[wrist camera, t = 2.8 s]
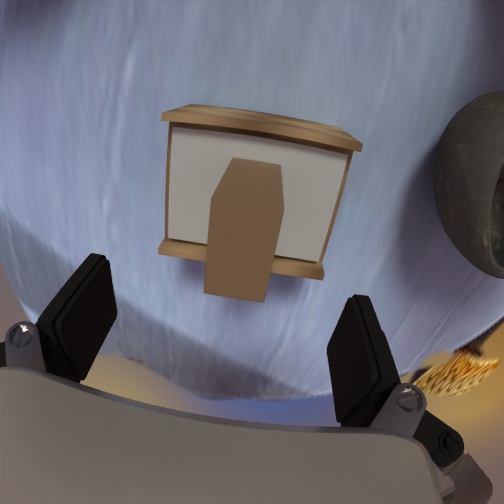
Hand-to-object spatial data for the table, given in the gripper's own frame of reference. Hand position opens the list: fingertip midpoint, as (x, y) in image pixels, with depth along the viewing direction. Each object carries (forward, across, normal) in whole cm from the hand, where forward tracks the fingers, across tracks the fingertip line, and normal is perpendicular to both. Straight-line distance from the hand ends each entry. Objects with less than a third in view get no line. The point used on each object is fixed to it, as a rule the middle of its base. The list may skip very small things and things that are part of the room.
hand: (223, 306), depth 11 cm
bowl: (+16, -20, -7) cm, 27 cm away
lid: (+11, 0, -1) cm, 11 cm away
